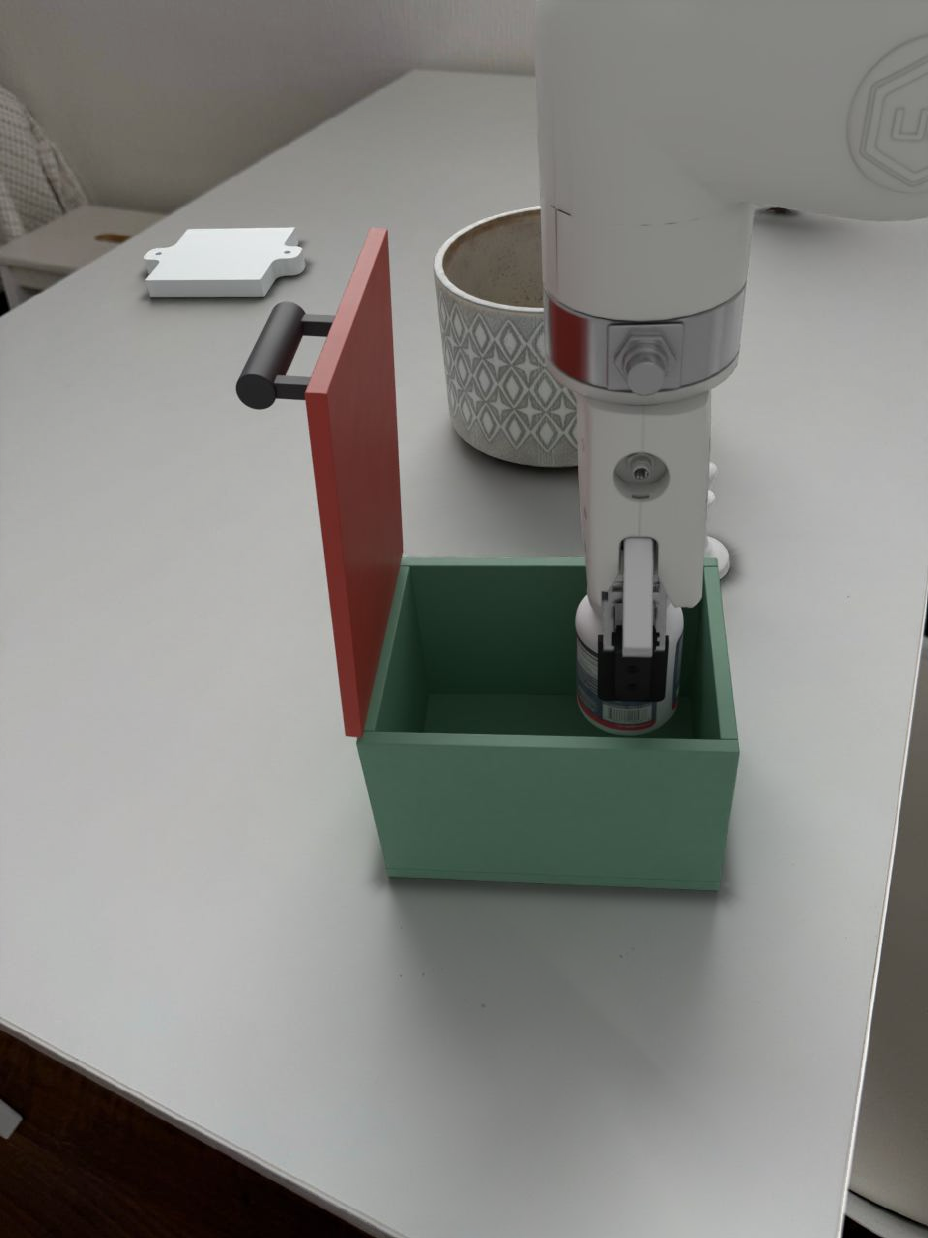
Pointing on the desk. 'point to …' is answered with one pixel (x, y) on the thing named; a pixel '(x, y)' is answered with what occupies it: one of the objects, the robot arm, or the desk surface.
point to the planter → (502, 343)
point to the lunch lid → (347, 456)
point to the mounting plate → (223, 262)
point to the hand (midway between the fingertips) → (630, 649)
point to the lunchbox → (539, 738)
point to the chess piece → (712, 545)
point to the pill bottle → (599, 713)
